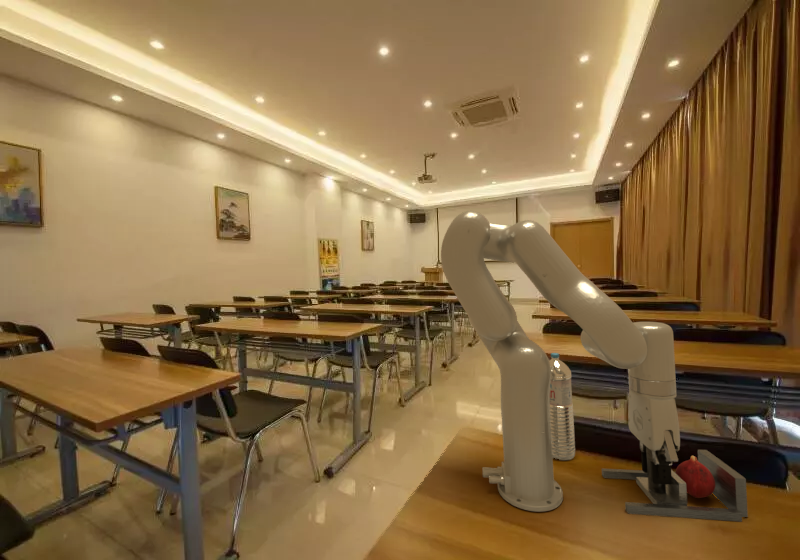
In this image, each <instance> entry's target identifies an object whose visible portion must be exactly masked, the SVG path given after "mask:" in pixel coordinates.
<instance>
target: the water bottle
mask: <svg viewBox="0 0 800 560" xmlns="http://www.w3.org/2000/svg"><path fill="white" fill-rule="evenodd" d="M550 358H551V359H549V362H550V366H551V384H550V419H551V437H552V457H553V459H554V458H555V459H554V460H557V459H559V461H571V460H572V459H574V457H576V441H575V439H576V437H575V425H574V424H575V419H574V403H573V395H572V394H573V392H572V390H573V389H572V371H571V369H570V368H569V366H568V365H567V364H566V363H565V362H563V361H562V360H560V353H559V352H552V353H550Z"/></svg>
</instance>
